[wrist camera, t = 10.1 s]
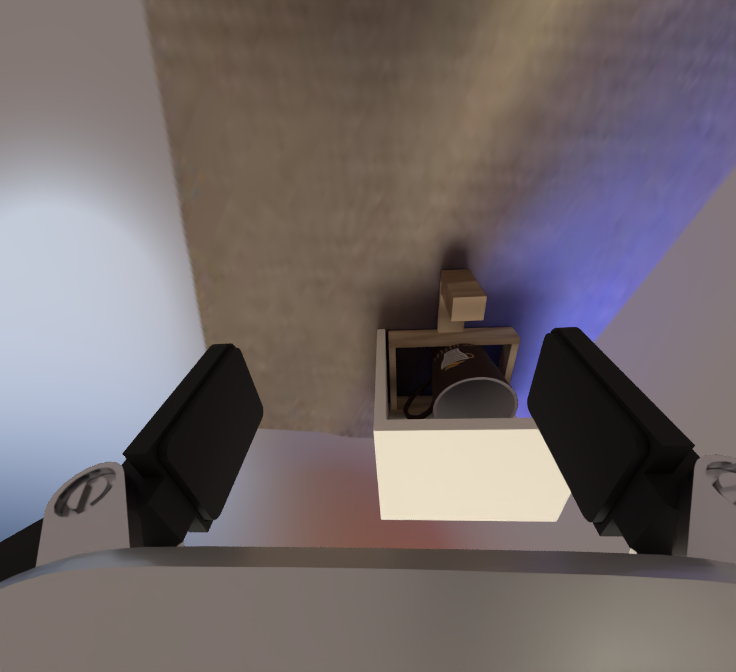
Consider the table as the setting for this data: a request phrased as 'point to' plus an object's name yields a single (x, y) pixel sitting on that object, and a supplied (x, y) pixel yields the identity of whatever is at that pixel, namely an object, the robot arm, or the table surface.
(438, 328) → the wooden drawer
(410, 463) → the cream open box
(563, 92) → the table surface
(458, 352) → the coffee mug
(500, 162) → the table surface
